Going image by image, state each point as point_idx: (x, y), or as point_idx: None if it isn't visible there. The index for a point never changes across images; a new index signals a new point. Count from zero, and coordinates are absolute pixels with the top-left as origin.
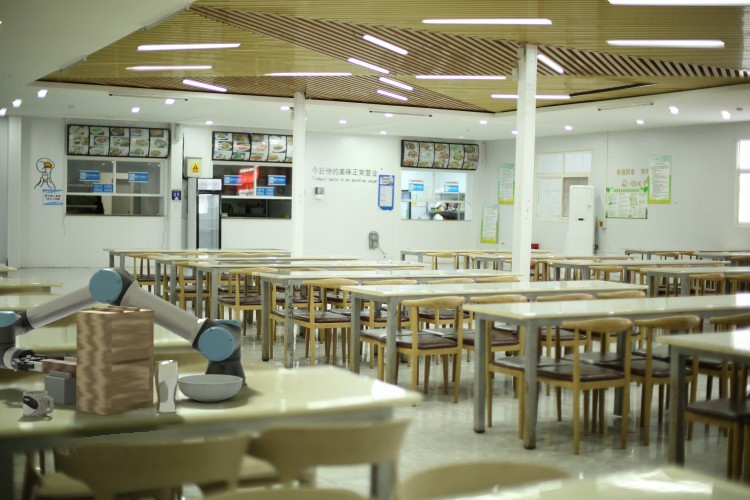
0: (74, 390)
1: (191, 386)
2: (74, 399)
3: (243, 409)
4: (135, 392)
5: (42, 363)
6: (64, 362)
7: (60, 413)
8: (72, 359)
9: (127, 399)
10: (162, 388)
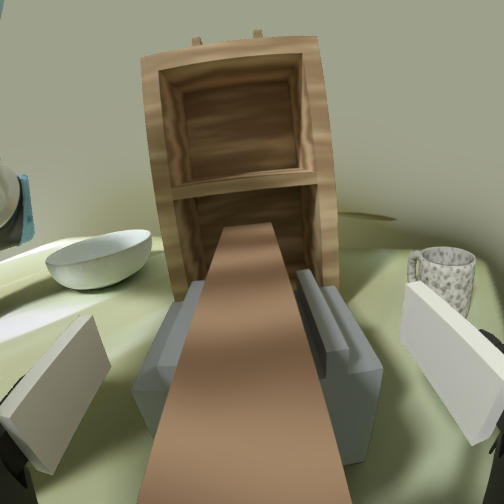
0: None
1: (151, 240)
2: None
3: (162, 245)
4: None
5: (407, 287)
6: (253, 283)
7: (385, 302)
8: (74, 353)
9: None
10: None
